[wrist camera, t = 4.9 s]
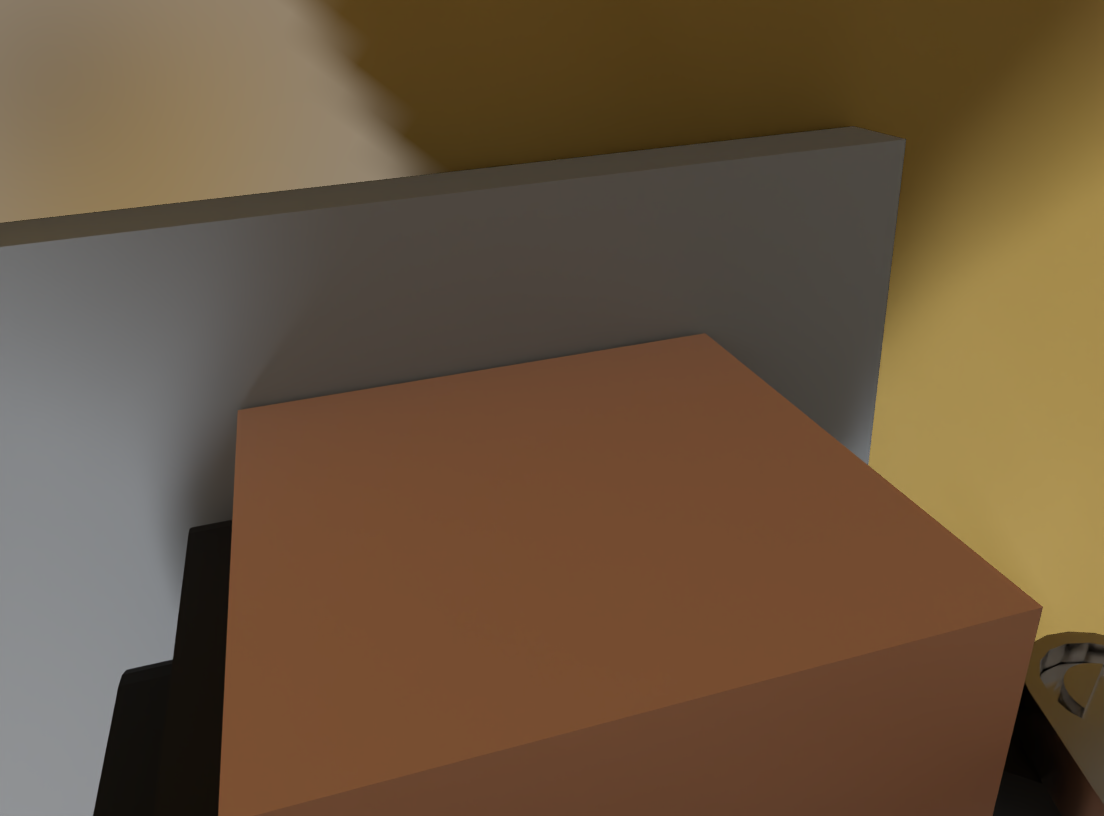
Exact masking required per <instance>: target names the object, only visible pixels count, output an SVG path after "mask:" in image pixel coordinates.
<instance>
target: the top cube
mask: <svg viewBox="0 0 1104 816" xmlns="http://www.w3.org/2000/svg"><path fill="white" fill-rule="evenodd" d="M1042 608H1043V607H1042V606H1041V605H1040V604H1038V603H1037V602H1036V601H1035V600H1033V599H1032V598H1031V597H1030V596H1029V595H1027V594H1026V593H1025V592H1024V591H1022V590H1021V589H1020V588H1019V587H1017V586H1016V585H1015V584H1014V583H1013V582H1011V581H1010V580H1009V579H1008V578H1006V577H1005V576H1004V575H1003V574H1001V573H1000V572H999V571H998V570H997V569H995V568H994V567H993V566H992V565H990V564H989V563H988V562H987V561H985V560H984V559H983V558H982V557H980V556H979V555H978V554H977V553H976V552H974V551H973V550H972V549H971V548H969V547H968V546H967V545H966V544H964V543H963V542H962V541H961V540H960V539H958V538H957V537H956V536H955V535H953V534H952V533H951V532H950V531H948V530H947V529H946V528H945V527H944V526H942V525H941V524H940V523H939V522H937V521H936V520H935V519H934V518H932V517H931V516H930V515H929V514H927V513H926V512H925V511H924V510H923V509H921V508H920V507H919V506H918V505H916V504H915V503H914V502H913V501H911V500H910V499H909V498H908V497H907V496H905V495H904V494H903V493H902V492H900V491H899V490H898V489H897V488H895V487H894V486H893V485H892V484H890V483H889V482H888V481H887V480H886V479H884V478H883V477H882V476H881V475H879V474H878V473H877V472H876V471H874V470H873V469H872V468H871V467H870V466H868V465H867V464H866V463H865V462H863V461H862V460H861V459H860V458H858V457H857V456H856V455H855V454H854V453H852V452H851V451H850V450H849V449H847V448H846V447H845V446H844V445H842V444H841V443H840V442H839V441H837V440H836V439H835V438H834V437H833V436H831V435H830V434H829V433H828V432H826V431H825V430H824V429H823V428H821V427H820V426H819V425H818V424H817V423H815V422H814V421H813V420H812V419H810V418H809V417H808V416H807V415H805V414H804V413H803V412H802V411H801V410H799V409H798V408H797V407H796V406H794V405H793V404H792V403H791V402H789V401H788V400H787V399H786V398H784V397H783V396H782V395H781V394H780V393H778V392H777V391H776V390H775V389H773V388H772V387H771V386H770V385H768V384H767V383H766V382H765V381H764V380H762V379H761V378H760V377H759V376H757V375H756V374H755V373H754V372H752V371H751V370H750V369H749V368H747V367H746V366H745V365H744V364H743V363H741V362H740V361H739V360H738V359H736V358H735V357H734V356H733V355H731V354H730V353H729V352H728V351H727V350H725V349H724V348H723V347H722V346H720V345H719V344H718V343H717V342H715V341H714V340H713V339H712V338H711V337H709V336H708V335H707V334H706V333H703V334H697V335H691V336H685V337H679V338H673V339H667V340H661V341H655V342H649V343H643V344H637V345H631V346H624V347H618V348H612V349H606V350H600V351H594V352H588V353H582V354H576V355H570V356H564V357H558V358H552V359H545V360H539V361H533V362H527V363H521V364H515V365H509V366H503V367H497V368H491V369H485V370H479V371H473V372H466V373H460V374H454V375H448V376H442V377H436V378H430V379H424V380H418V381H412V382H406V383H400V384H394V385H387V386H381V387H375V388H369V389H363V390H357V391H351V392H345V393H339V394H333V395H327V396H321V397H315V398H309V399H302V400H296V401H290V402H284V403H278V404H272V405H266V406H260V407H254V408H248V409H242V410H238V414H237V435H236V456H235V476H234V497H233V518H232V539H231V560H230V580H229V601H228V622H227V643H226V664H225V684H224V705H223V726H222V747H221V768H220V788H219V809H218V816H993V811H994V807H995V803H996V799H997V795H998V791H999V787H1000V782H1001V778H1002V774H1003V770H1004V766H1005V762H1006V757H1007V753H1008V749H1009V745H1010V741H1011V737H1012V733H1013V728H1014V724H1015V720H1016V716H1017V712H1018V708H1019V704H1020V699H1021V695H1022V691H1023V687H1024V683H1025V679H1026V675H1027V670H1028V666H1029V662H1030V658H1031V654H1032V650H1033V646H1034V641H1035V637H1036V633H1037V629H1038V625H1039V621H1040V617H1041V612H1042Z"/></svg>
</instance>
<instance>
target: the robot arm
mask: <svg viewBox="0 0 1104 816" xmlns="http://www.w3.org/2000/svg"><path fill="white" fill-rule="evenodd" d="M231 539H232V520H227V521H222V522H217V523H212V524H207V525H201V526H196V527H192V528H190V529H189V533H188V541H187V549H186V557H185V565H184V573H183V581H182V589H181V597H180V605H179V613H178V621H177V629H176V637H175V645H174V653H173V660H168V661H164V662H159V663H155V664H150V665H146V666H141V667H137V668H132V669H128V670H126V671H125V672H124V673H123V674H122V676H121V679H120V683H119V686H118V690H117V695H116V701H115V706H114V711H113V716H112V721H111V726H110V731H109V736H108V741H107V746H106V752H105V757H104V762H103V767H102V772H101V777H100V782H99V787H98V792H97V797H96V803H95V808H94V813H93V816H218V809H219V788H220V768H221V747H222V726H223V705H224V684H225V664H226V643H227V622H228V601H229V580H230V560H231ZM993 816H1104V635H1101V634H1097V633H1085V632H1063V633H1057V634H1051V635H1046V636H1044V637H1042V638H1040V639H1038V640H1037V641H1035V642H1034V646H1033V650H1032V654H1031V658H1030V662H1029V666H1028V670H1027V675H1026V679H1025V683H1024V687H1023V691H1022V695H1021V699H1020V704H1019V708H1018V712H1017V716H1016V720H1015V724H1014V728H1013V733H1012V737H1011V741H1010V745H1009V749H1008V753H1007V757H1006V762H1005V766H1004V770H1003V774H1002V778H1001V782H1000V787H999V791H998V795H997V799H996V803H995V807H994V811H993Z"/></svg>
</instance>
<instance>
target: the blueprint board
mask: <svg viewBox="0 0 1104 816" xmlns="http://www.w3.org/2000/svg"><path fill="white" fill-rule="evenodd" d="M905 144H906V139H903V138H899V137H895V136H891V135H887V134H883V133H879V132H875V131H871V130H867V129H863V128H858V127H854V126H851V127H842V128H833V129H825V130H816V131H807V132H798V133H789V134H781V135H772V136H763V137H754V138H745V139H736V140H728V141H719V142H710V143H701V144H692V145H684V146H675V147H666V148H657V149H648V150H639V151H631V152H622V153H613V154H604V155H595V156H587V157H578V158H569V159H560V160H551V161H543V162H534V163H525V164H516V165H507V166H498V167H490V168H481V169H472V170H463V171H454V172H446V173H437V174H428V175H419V176H410V177H401V178H393V179H384V180H375V181H366V182H358V183H349V184H340V185H331V186H322V187H314V188H305V189H296V190H288V191H279V192H270V193H260V194H252V195H243V196H234V197H225V198H217V199H208V200H200V201H190V202H181V203H173V204H163V205H155V206H147V207H137V208H128V209H120V210H111V211H102V212H93V213H85V214H76V215H67V216H59V217H49V218H40V219H31V220H22V221H14V222H5V223H0V816H93V813H94V808H95V803H96V797H97V792H98V787H99V782H100V777H101V772H102V767H103V762H104V757H105V752H106V746H107V741H108V736H109V731H110V726H111V721H112V716H113V711H114V706H115V701H116V695H117V690H118V686H119V683H120V679H121V676H122V674H123V673H124V672H125V671H126V670H128V669H132V668H137V667H141V666H146V665H150V664H155V663H159V662H164V661H168V660H173V653H174V645H175V637H176V629H177V621H178V613H179V605H180V597H181V589H182V581H183V573H184V565H185V557H186V549H187V541H188V533H189V529H190V528H192V527H196V526H201V525H207V524H212V523H217V522H222V521H227V520H232V518H233V497H234V476H235V456H236V435H237V414H238V410H242V409H248V408H254V407H260V406H266V405H272V404H278V403H284V402H290V401H296V400H302V399H309V398H315V397H321V396H327V395H333V394H339V393H345V392H351V391H357V390H363V389H369V388H375V387H381V386H387V385H394V384H400V383H406V382H412V381H418V380H424V379H430V378H436V377H442V376H448V375H454V374H460V373H466V372H473V371H479V370H485V369H491V368H497V367H503V366H509V365H515V364H521V363H527V362H533V361H539V360H545V359H552V358H558V357H564V356H570V355H576V354H582V353H588V352H594V351H600V350H606V349H612V348H618V347H624V346H631V345H637V344H643V343H649V342H655V341H661V340H667V339H673V338H679V337H685V336H691V335H697V334H703V333H706V334H707V335H708V336H709V337H711V338H712V339H713V340H714V341H715V342H717V343H718V344H719V345H720V346H722V347H723V348H724V349H725V350H727V351H728V352H729V353H730V354H731V355H733V356H734V357H735V358H736V359H738V360H739V361H740V362H741V363H743V364H744V365H745V366H746V367H747V368H749V369H750V370H751V371H752V372H754V373H755V374H756V375H757V376H759V377H760V378H761V379H762V380H764V381H765V382H766V383H767V384H768V385H770V386H771V387H772V388H773V389H775V390H776V391H777V392H778V393H780V394H781V395H782V396H783V397H784V398H786V399H787V400H788V401H789V402H791V403H792V404H793V405H794V406H796V407H797V408H798V409H799V410H801V411H802V412H803V413H804V414H805V415H807V416H808V417H809V418H810V419H812V420H813V421H814V422H815V423H817V424H818V425H819V426H820V427H821V428H823V429H824V430H825V431H826V432H828V433H829V434H830V435H831V436H833V437H834V438H835V439H836V440H837V441H839V442H840V443H841V444H842V445H844V446H845V447H846V448H847V449H849V450H850V451H851V452H852V453H854V454H855V455H856V456H857V457H858V458H860V459H861V460H862V461H863V462H865V463H866V464H867V465H868V462H869V453H870V444H871V436H872V427H873V419H874V410H875V401H876V393H877V384H878V376H879V367H880V359H881V350H882V341H883V333H884V324H885V316H886V307H887V299H888V290H889V281H890V273H891V264H892V256H893V247H894V239H895V230H896V221H897V213H898V204H899V196H900V187H901V178H902V170H903V161H904V153H905Z"/></svg>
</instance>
